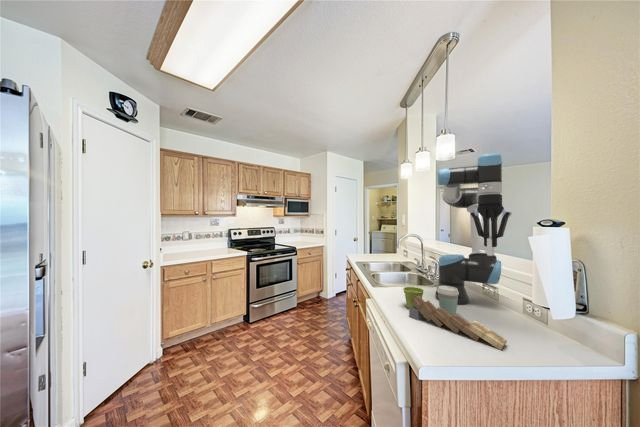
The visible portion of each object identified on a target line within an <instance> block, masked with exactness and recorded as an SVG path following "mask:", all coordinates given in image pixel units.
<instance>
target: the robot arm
mask: <svg viewBox="0 0 640 427" xmlns="http://www.w3.org/2000/svg"><path fill="white" fill-rule="evenodd" d="M502 164H503V161H502V155H501V153H496V152H495V153H485V154H482V155H480V156H478V158H477V163H476V165H470V166H462V167H461V166H460V167H449V168H447V167H446V168H441V169H439V170H438V171H437V184H438V186H442V187H443V191H442V195H441V197H442V200H443V202H444V203H446V204H447V205H449V207H450V206H451V207H454V208H457V209H466V212H467V213H469V214H470V216H469V219H470V222H469V223H470V238H471V239H470V241H471V242H470V243H471V253H469V254H468V257H465V255H463V254H457V253H455V254H444V255H440V257H439V258H438V285H437V288H436V290H435V296H434V297H435V299H436V300H438V301H439V298H438V292H437V289H438V287H439V286H451V287H455V288H457V289H458V292H459V295H458V302H457V306H458V305H459V306H460V305H461V306H463V305H467V304H469V301H470V300H469V296H468V292H467V290H466V287H465V282H469V283H477V284H485V285H497V284H498V283H499V282H500V279H501V275H502V262H501V260H499V259H497V255H496V254H495V248H497V246H498V239H499V238H502V237H504V234H505V230H506V227H507V223H508V220H509V218H510V216H512V211H507V210H506V209H505V207H504V206H503V195H502V193H503V181H502V180H503V179H502V178H503V177H502V175H503V174H502V171H503V169H502V167H503V166H502ZM469 184H471V185H472V184H477V187H461V186H462V185H469ZM500 215H502V218H501V221H500V224H499V228H498V217H499V216H500Z"/></svg>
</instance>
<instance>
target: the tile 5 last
mask: <svg viewBox="0 0 640 427" xmlns="http://www.w3.org/2000/svg"><path fill="white" fill-rule="evenodd" d="M411 302H412V303H413V304H414V305H415V307H416V308H417V309H418V310H419V311H420V312H421V314H422V315H423V316H424V317H423V318H424V319H426V321H427V322H430V321H433V320H432V319H431V318H430V317H429V316H428V314H427V313H426V312H425V311H424V310H423V309H422V308H421V307H420V305H421V304H422V303H423V302H426V301H425V300H424V299H423V297H422V298H421V297H420V296H417V297H414V298H413V299H412V300H411Z"/></svg>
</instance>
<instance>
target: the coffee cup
mask: <svg viewBox="0 0 640 427" xmlns="http://www.w3.org/2000/svg"><path fill="white" fill-rule="evenodd" d="M437 287H438V286H437ZM436 290H437V292H438V298H439V300H438V304H439V307H441V308H443V309H444V310H445V311H446V312H448V313H449V314H450V315H451V316H453V315H455V314H457V309H458V308H457V307H458V305H457V302H458V295H459V292H458V289H457V288H455V287H451V286H439V287H438V289H437V288H436Z"/></svg>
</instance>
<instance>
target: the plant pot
mask: <svg viewBox="0 0 640 427" xmlns="http://www.w3.org/2000/svg"><path fill="white" fill-rule="evenodd" d="M402 290H403V293H404V296H405V302H406V304H405V305H406V307H407V308H408V309H409V307H412V306H414V304H413V303H412V302H411V300H412V299H413V298H414V297H417V296H420V297H421V298H422V299H423V295H424V293H425V290H424V289H423V288H421V287H416V286H405V287H403V288H402Z"/></svg>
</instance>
